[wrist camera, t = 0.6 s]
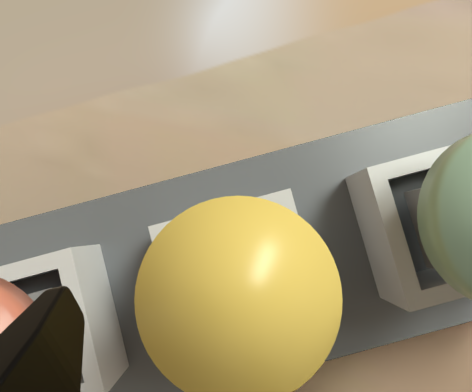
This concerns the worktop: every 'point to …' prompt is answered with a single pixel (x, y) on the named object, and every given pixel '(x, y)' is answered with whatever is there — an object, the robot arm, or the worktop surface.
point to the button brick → (13, 302)
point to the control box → (273, 189)
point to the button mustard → (238, 298)
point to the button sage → (446, 216)
